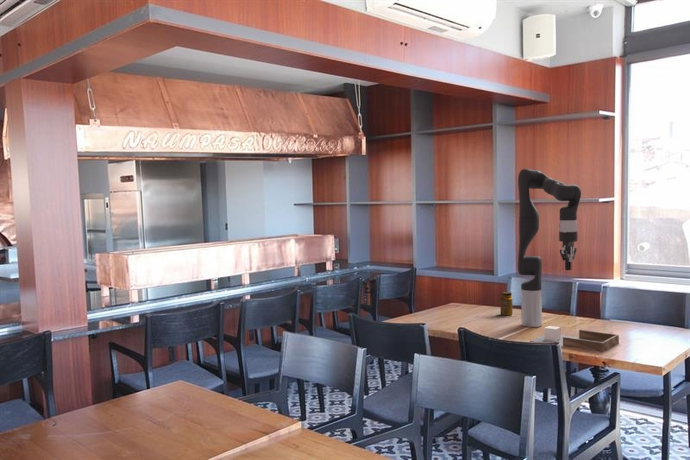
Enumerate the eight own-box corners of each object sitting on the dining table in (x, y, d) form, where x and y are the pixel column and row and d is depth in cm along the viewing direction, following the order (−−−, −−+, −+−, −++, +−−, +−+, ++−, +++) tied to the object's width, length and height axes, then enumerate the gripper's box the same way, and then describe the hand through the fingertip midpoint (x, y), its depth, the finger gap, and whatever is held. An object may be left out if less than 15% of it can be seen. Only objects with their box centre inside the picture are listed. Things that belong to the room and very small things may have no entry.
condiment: (515, 315, 306) (515, 292, 305) (507, 317, 300) (507, 294, 299) (503, 313, 311) (503, 291, 310) (494, 316, 305) (494, 293, 304)
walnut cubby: (579, 337, 250) (579, 329, 250) (618, 343, 239) (618, 334, 239) (562, 345, 237) (562, 337, 237) (603, 352, 226) (603, 343, 226)
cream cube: (549, 337, 252) (549, 325, 252) (560, 338, 248) (560, 327, 248) (544, 339, 248) (544, 327, 248) (555, 341, 245) (555, 329, 244)
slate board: (548, 335, 260) (548, 333, 259) (619, 345, 239) (619, 343, 239) (529, 343, 246) (529, 340, 246) (603, 354, 226) (603, 352, 226)
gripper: (565, 229, 263) (566, 268, 264) (553, 231, 254) (553, 271, 255) (582, 230, 258) (582, 269, 259) (570, 231, 249) (570, 272, 250)
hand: (568, 270), depth 257 cm, fingers closed
